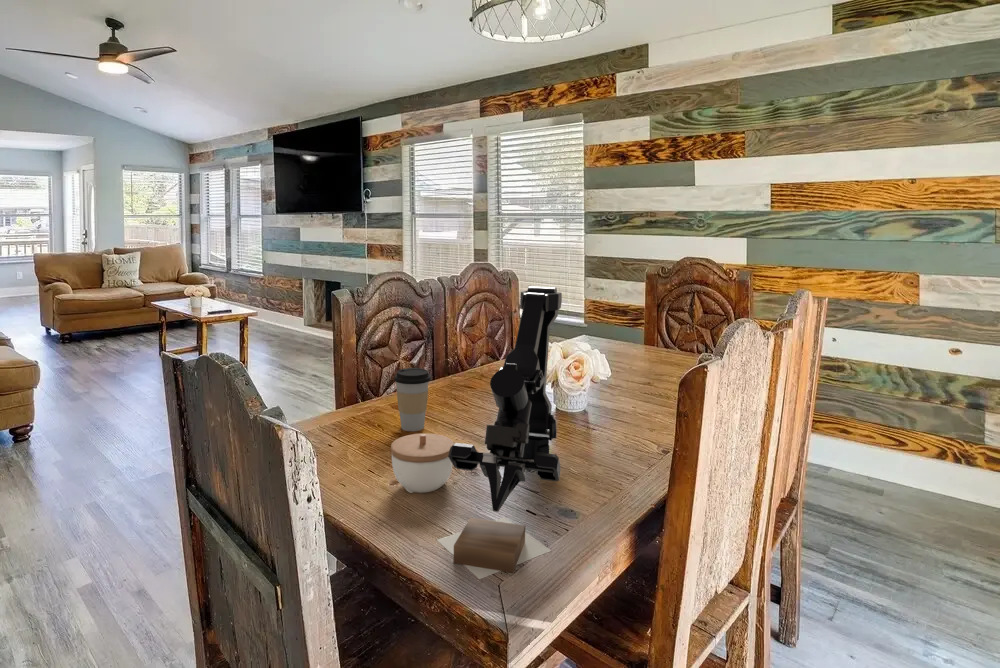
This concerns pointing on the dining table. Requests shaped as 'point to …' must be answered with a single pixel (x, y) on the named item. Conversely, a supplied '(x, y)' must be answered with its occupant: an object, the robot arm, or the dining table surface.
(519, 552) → the walnut slab
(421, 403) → the coffee cup
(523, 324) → the robot arm
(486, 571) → the felt mat
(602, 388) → the dining table surface
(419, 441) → the lidded bowl
